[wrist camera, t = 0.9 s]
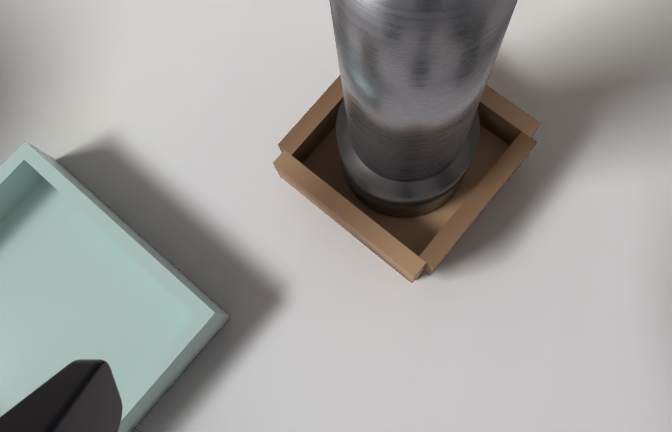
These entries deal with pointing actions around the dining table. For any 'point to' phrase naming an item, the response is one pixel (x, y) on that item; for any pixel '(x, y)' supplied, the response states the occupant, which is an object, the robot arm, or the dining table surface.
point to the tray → (88, 292)
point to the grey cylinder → (412, 96)
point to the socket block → (404, 233)
